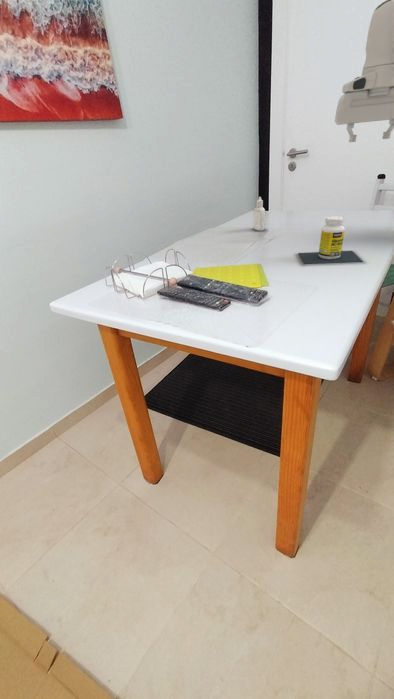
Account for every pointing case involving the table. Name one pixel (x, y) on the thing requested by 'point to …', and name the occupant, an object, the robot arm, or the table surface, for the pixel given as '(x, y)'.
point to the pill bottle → (332, 238)
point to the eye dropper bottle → (259, 216)
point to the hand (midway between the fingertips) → (368, 140)
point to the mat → (315, 259)
